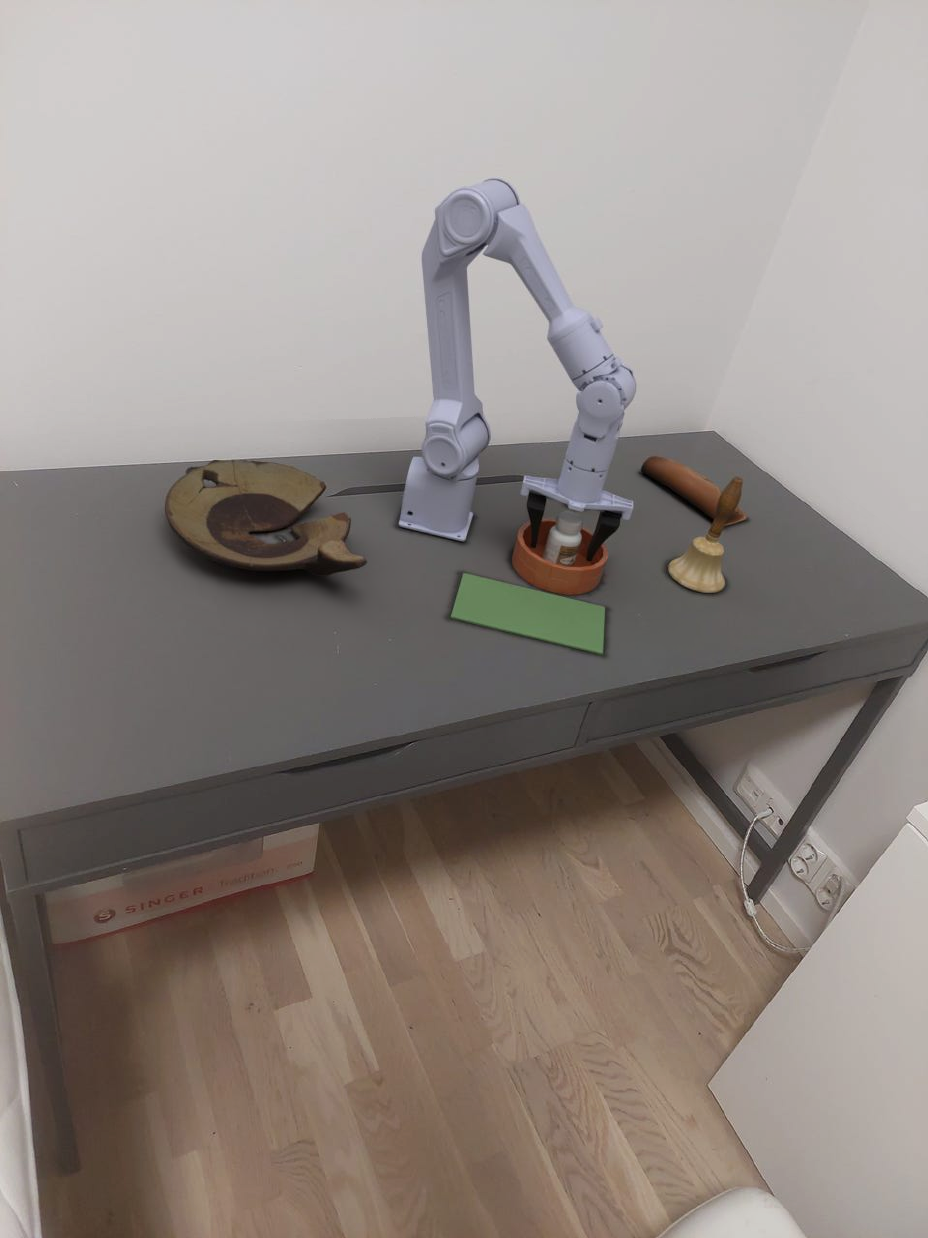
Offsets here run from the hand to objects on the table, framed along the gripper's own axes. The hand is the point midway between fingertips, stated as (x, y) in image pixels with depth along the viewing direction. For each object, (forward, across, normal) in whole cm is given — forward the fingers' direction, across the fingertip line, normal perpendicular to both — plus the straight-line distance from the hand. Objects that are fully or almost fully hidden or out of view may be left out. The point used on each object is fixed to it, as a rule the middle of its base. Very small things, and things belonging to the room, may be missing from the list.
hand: (561, 550), depth 120 cm
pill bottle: (+3, 0, 0) cm, 3 cm away
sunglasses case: (+3, +21, +31) cm, 38 cm away
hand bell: (+3, +20, +6) cm, 21 cm away
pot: (+3, 0, 0) cm, 3 cm away
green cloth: (+3, -2, -12) cm, 13 cm away
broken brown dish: (+3, -37, -12) cm, 39 cm away
